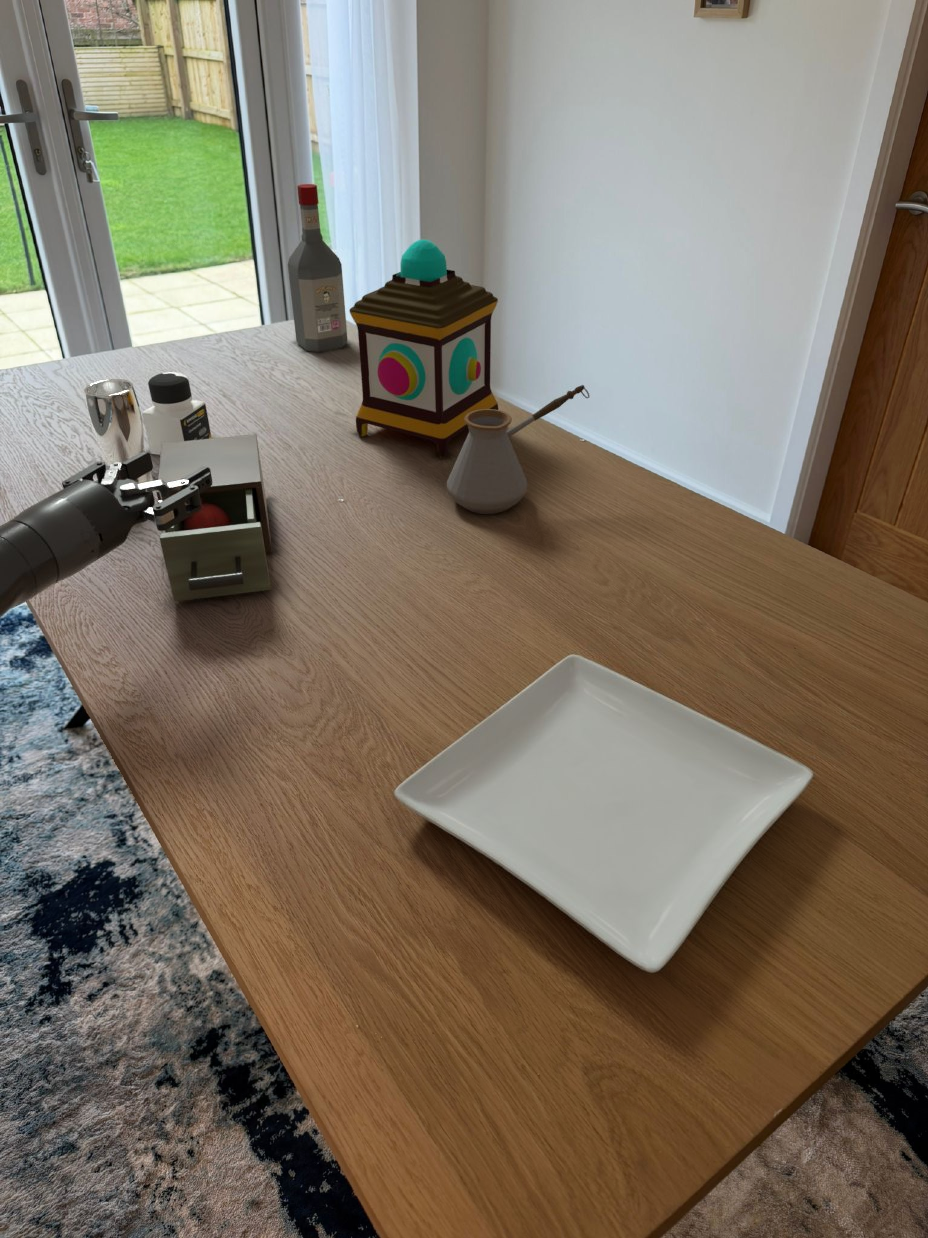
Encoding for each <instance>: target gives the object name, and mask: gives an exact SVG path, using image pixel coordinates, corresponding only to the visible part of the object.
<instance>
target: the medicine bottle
mask: <svg viewBox="0 0 928 1238" xmlns="http://www.w3.org/2000/svg"><path fill="white" fill-rule="evenodd" d="M147 385H148V390H149V394H150V400H151V403H152V406H150V407H149V408H147V409H145V410H144V411H141V415H142V420H143V426H144V431H145V434H146V438H147V443H148V447H149V451H150V452H149V453H150V455H157V456H160V453H161V444H162V443H170V442H181V441H191V440H202V439H212V438H213V436H212V432H211V427H210V422H209V416H208V415H209V414H208V410H207V405H206V402H205V401H203V400H196V399H193V393H192V389H191V384H190V379H189V377H188V376H187V375H186V374H184V373H181V372H176V371H166V372H161V373H158V374H155V375H154V376H152V377H150V378H149V380H148V382H147Z"/></svg>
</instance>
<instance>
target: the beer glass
mask: <svg viewBox="0 0 928 1238" xmlns="http://www.w3.org/2000/svg"><path fill="white" fill-rule="evenodd" d="M83 392H84V395H85V396H84V397H85V401H86V402H85V403H86V408H87V413H88V417H89V421H90V424H91V428H92V430H93V434H94V435H95V438H96V440H97V442H98V445H99V446H100V449H101V451H102V453H103V455H104V457H105V459H106V462H107V466H110V465H111V464H112V463H115V462H120V463H123V462H124V461H126V460H128V459H130V458H132V457H134V456H136V455H137V454H139V453H141V452H145V436H144V435H145V434H144V421H143V416H142V410H141V407H140V402H139V400H138V396H137V394H136V390H135V387H134V383H133V382H132V381H130V380H128V379H124V378H123V379H122V378H109V379H104V380H103V379H102V380H98V381H95V382H92V383H90V384H88V385H86V386H85V388H84V389H83ZM134 481H135V482H139V483H146V482H151V481H154V478H153V475H152V473H151V471H150V472H148V473H146V474H145V475H143V476H141V477H139V478H138V479H136V480H134Z"/></svg>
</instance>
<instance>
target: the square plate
mask: <svg viewBox="0 0 928 1238" xmlns="http://www.w3.org/2000/svg"><path fill="white" fill-rule="evenodd" d="M813 777H814V772H813V771H812V769H810V768H809V767H808V766H807V765H804V764H803V763H801V762H799V761H797V760H795V759H793V758H791V757H789V756H787V755H785V754H783V753H781V752H779V751H777V750H775V749H773V748H771V747H769V746H767V745H765V744H763V743H761V742H759V741H757V740H755V739H753V738H751V737H749V736H746V735H745V734H743V733H741V732H739V731H737V730H735V729H732V728H731V727H729V726H728V725H725V724H723V723H720V722H719V721H717V720H715V719H713V718H710V717H709V716H706V715H705V714H702V713H700V712H698V711H696V710H695V709H693V708H691V707H688V706H685V705H684V704H682V703H680V702H678V701H676V700H674V699H671V698H669V697H668V696H666V695H663V694H661V693H660V692H658V691H656V690H653V689H651V688H649V687H647V686H645V685H643V684H641V683H638V682H637V681H635V680H632V679H631V678H628V677H627V676H626V675H623V674H621V673H618V672H616V671H614V670H612V669H610V668H608V667H606V666H604V665H601V664H600V663H598V662H595V661H593V660H591V659H589V658H586V657H584V656H582V655H579V654H573V653H572V654H569V655H567V656H565V657H564V658H563V659H561V660H560V661H558V662H557V663H556V664H555V665H553V666H552V667H550V668H549V669H548V670H547V671H545V672H544V673H543V674H542V675H540V676H539V677H538V678H536V679H535V680H533V682H531V683H530V684H529V685H527V686H526V687H524V688H523V689H522V690H521V691H520V692H519V693H517V694H516V695H515V696H513V697H512V698H511V699H509V700H507V702H505V703H504V704H503V705H502V706H500V707H499V708H498V709H496V710H495V711H494V712H493V713H491V714H489V715H488V716H487V717H486V718H484V719H483V720H482V721H480V722H479V723H478V724H476V725H475V726H474V727H473V728H471V729H470V730H469V731H467V732H466V733H465V734H463V735H461V736H460V737H459V738H458V739H457V740H456V741H454V742H453V743H452V744H450V745H449V746H447V747H446V748H445V749H444V750H442V751H441V752H440V753H438V754H436V756H435V757H433V758H432V759H430V760H429V761H428V762H426V763H425V764H424V765H423V766H421V767H420V768H418V769H417V770H416V771H415V772H414V773H412V774H410V776H408V777H407V778H406V779H405V780H403V781H402V782H401V783H400V784H399V785H397V787H396V788H395V789H394V791H393V795H394V797H395V799H396V800H397V801H399V802H400V803H401V804H402V805H403V806H405V807H406V808H408V809H409V810H410V811H412V812H413V813H415V814H416V815H418V816H420V817H421V818H423V819H425V820H426V821H428V822H430V823H431V824H434V825H435V826H436V827H438V828H439V829H442V830H443V831H444V832H446V833H447V834H449V835H452V836H453V837H455V838H456V839H457V840H459V841H461V842H463V843H464V844H466V845H467V846H469V847H471V848H472V849H474V850H475V851H476V852H478V853H480V854H482V855H484V856H485V857H486V858H487V859H490V860H491V861H492V862H494V863H495V864H496V865H498V866H500V867H502V868H503V869H504V870H505V871H507V873H510V874H511V875H512V876H514V877H515V878H517V879H518V880H519V881H521V882H522V883H524V884H525V885H527V886H528V887H529V888H530V889H532V890H533V891H534V892H536V893H538V894H539V896H541V897H543V898H544V899H546V900H547V901H548V902H549V903H551V904H552V905H553V906H555V908H557V909H558V910H560V911H561V912H563V913H564V914H565V915H567V917H569V918H570V919H571V920H573V921H574V922H575V923H577V924H578V925H580V926H581V927H582V928H584V929H585V931H587V932H589V933H590V934H592V935H593V936H594V937H596V939H598V940H599V941H600V942H601V943H603V944H604V945H606V946H607V947H608V948H610V949H611V950H612V951H614V952H615V953H616V954H618V955H619V956H621V957H622V958H623V959H625V960H626V961H628V962H630V964H632V965H634V966H635V967H637V968H639V969H640V970H643V971H645V972H647V973H652V974H653V973H656V972H659V971H661V970H662V968H664V967H665V966H666V965H667V964H668V962H669V961H670V960H671V959H672V958H673V956H674V955H675V954H676V952H677V951H678V950H679V948H680V947H681V946H682V945H683V944H684V942H685V940H686V939H687V937H688V936H689V934H690V933H691V932H692V930H693V929H694V927H695V926H696V924H697V923H698V922H699V920H700V919H701V917H702V916H703V914H704V913H705V911H707V909H708V907H709V906H710V904H711V903H712V902H713V900H714V899H715V897H716V896H717V894H718V893H719V892H720V890H721V889H722V887H723V886H724V885H725V883H726V882H727V881H728V879H730V877H731V876H732V874H733V873H734V871H736V869H737V867H738V866H739V865H740V864H741V862H742V861H743V860H744V858H745V857H746V856H747V855H748V853H749V852H750V851H751V850H752V849H753V848H754V846H755V845H756V844H757V843H758V842H759V840H760V839H761V838H762V837H763V836H764V835H765V833H766V832H768V830H769V829H770V828H771V827H772V826H773V825H774V824H775V822H776V821H777V820H778V819H779V818H780V817H781V816H782V815H783V814H784V812H785V811H787V809H788V808H789V807H790V806H791V805H792V804H793V803H794V802H795V801H796V800H797V799H798V798H799V797H800V796H801V795H802V793H803V792H804V791H805V790H806V789H807V788H808V786H809V784H810V783H811V781H812V780H813Z"/></svg>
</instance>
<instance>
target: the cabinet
mask: <svg viewBox="0 0 928 1238" xmlns="http://www.w3.org/2000/svg"><path fill="white" fill-rule="evenodd" d="M260 455H261V454H260V449H259V442H258V436H257V434H256V433H255V434H243V435H234V436H223V437H214V438H213V437H212V439H202V440H191V441H181V442H170V443H162V444H161V453H160V455H159V463H158V474H157V480H163V481H164V482H166V483H169V482H174V481H179V480H182V478H184V477H185V476H187V475H189V474H190V473H192V472H194V471H195V470H197V469H199V468H200V467H202V466H204V467H208V468H210V470H211V476H212V486H211V487H209V488H207V489H206V490H204V491H203V492H201V493H208V492H218V491H227V490H237V489H246V488H253V494H254V501H255V507H256V513H257V520H258V522H261V528H262V534H263V540H264V547H265V553H266V554H272V553H273V549H272V540H271V539H272V538H271V529H270V523H269V522H270V519H269V512H268V503H267V502H268V501H267V495H266V489H265V488H266V487H265V482H264V476H263V470H262V463H261V462H262V461H261V457H260ZM178 492H179V490H175V491H170V492H169V493H168V496H169V497H171V496H173V495H174V494H176V493H178ZM156 496H157V502H158V501H159V500H161V497H160V493H159V491H157V490H156ZM164 533H168V531H167V530H165V531H164Z"/></svg>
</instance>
